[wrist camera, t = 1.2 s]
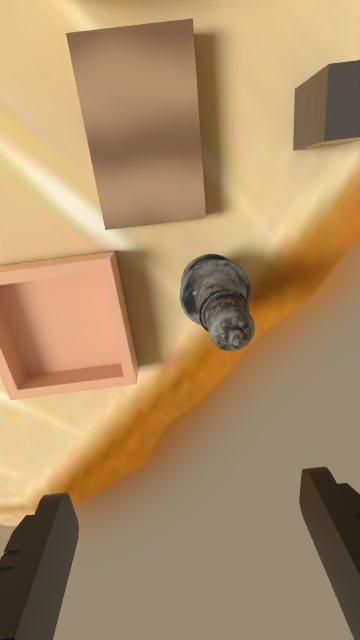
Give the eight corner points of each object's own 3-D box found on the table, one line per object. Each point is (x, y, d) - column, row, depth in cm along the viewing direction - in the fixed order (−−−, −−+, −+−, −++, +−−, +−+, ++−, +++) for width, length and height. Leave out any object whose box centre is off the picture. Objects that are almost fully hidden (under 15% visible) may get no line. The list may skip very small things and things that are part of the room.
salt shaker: (253, 279, 28) (311, 338, 17) (210, 323, 30) (237, 402, 19) (208, 236, 26) (240, 272, 16) (164, 285, 28) (165, 349, 17)
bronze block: (76, 49, 21) (66, 33, 19) (189, 36, 21) (192, 18, 19) (110, 225, 26) (105, 229, 24) (202, 215, 26) (206, 218, 24)
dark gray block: (295, 89, 22) (328, 64, 18) (348, 82, 22) (396, 55, 18) (293, 150, 24) (323, 141, 20) (343, 143, 24) (385, 133, 20)
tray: (-21, 268, 27) (-42, 277, 24) (115, 250, 27) (109, 258, 24) (23, 381, 31) (10, 400, 29) (138, 366, 31) (136, 383, 29)
